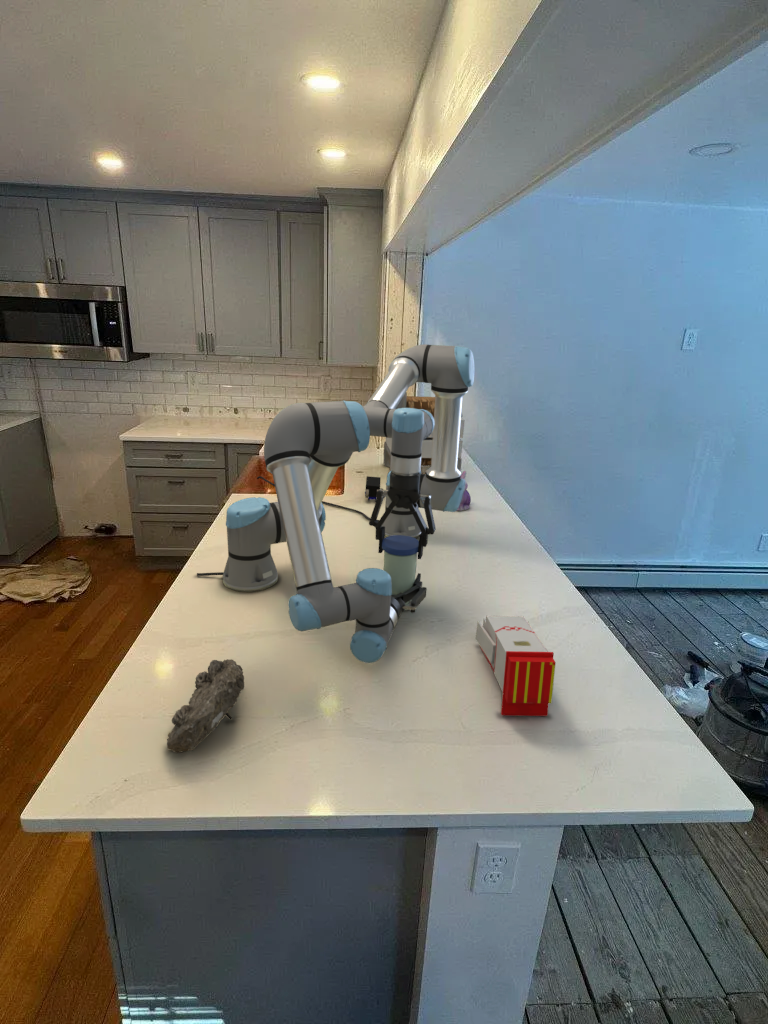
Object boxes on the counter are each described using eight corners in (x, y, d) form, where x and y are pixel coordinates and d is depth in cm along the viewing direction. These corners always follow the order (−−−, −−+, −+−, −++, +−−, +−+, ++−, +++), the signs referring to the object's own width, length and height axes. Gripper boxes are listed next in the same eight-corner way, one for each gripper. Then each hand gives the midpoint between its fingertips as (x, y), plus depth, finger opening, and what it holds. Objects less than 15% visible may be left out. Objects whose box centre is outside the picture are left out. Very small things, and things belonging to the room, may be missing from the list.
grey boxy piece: (382, 463, 289) (386, 382, 275) (445, 464, 293) (451, 384, 279) (390, 482, 257) (394, 392, 243) (460, 483, 261) (468, 394, 247)
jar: (420, 604, 153) (424, 545, 147) (397, 614, 147) (401, 554, 142) (397, 592, 159) (400, 536, 153) (375, 602, 153) (377, 543, 147)
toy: (522, 601, 137) (564, 658, 107) (517, 652, 139) (557, 722, 110) (472, 600, 136) (500, 657, 107) (468, 651, 139) (495, 721, 110)
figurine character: (380, 506, 230) (380, 491, 243) (381, 489, 227) (381, 475, 240) (364, 506, 230) (364, 491, 243) (364, 489, 226) (365, 474, 240)
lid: (399, 537, 154) (400, 532, 154) (427, 549, 148) (428, 543, 147) (373, 547, 147) (374, 541, 147) (402, 559, 141) (402, 553, 140)
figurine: (457, 512, 223) (460, 476, 218) (443, 504, 231) (446, 469, 226) (477, 509, 227) (480, 473, 222) (462, 502, 236) (465, 467, 230)
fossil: (192, 660, 117) (244, 628, 112) (224, 691, 120) (276, 661, 115) (142, 746, 98) (202, 712, 93) (182, 779, 101) (242, 748, 96)
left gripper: (339, 622, 138) (364, 582, 159) (426, 636, 133) (440, 593, 154) (340, 594, 135) (365, 557, 156) (428, 608, 131) (442, 568, 152)
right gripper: (452, 473, 141) (445, 555, 149) (366, 463, 147) (364, 542, 154) (447, 481, 134) (440, 566, 142) (357, 470, 140) (355, 553, 147)
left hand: (402, 575), depth 155 cm, fingers closed on jar, 9 cm apart
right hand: (400, 554), depth 148 cm, fingers closed on lid, 10 cm apart
